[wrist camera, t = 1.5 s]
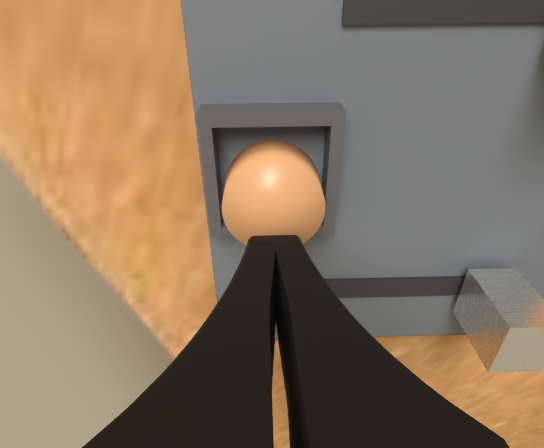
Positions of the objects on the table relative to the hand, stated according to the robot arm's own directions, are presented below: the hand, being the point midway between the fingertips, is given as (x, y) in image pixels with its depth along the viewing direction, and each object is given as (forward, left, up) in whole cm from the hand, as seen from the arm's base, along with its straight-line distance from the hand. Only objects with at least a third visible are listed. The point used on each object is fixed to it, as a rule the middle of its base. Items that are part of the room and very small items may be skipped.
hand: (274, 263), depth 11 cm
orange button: (0, 0, -5) cm, 5 cm away
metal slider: (-11, +7, -6) cm, 14 cm away
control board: (-6, 0, -8) cm, 10 cm away
